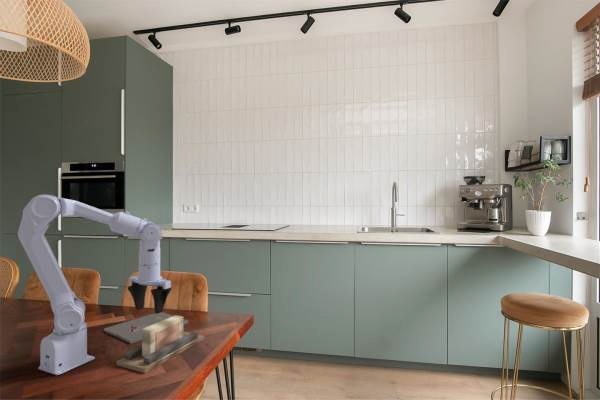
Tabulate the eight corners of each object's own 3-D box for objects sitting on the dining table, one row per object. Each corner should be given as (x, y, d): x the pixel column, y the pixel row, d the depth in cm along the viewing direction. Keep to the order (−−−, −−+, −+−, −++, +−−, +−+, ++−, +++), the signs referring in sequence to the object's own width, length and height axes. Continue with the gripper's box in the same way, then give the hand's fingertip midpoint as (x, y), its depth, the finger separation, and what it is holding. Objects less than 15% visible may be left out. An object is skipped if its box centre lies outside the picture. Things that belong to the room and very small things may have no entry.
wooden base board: (144, 373, 82) (144, 362, 82) (116, 365, 86) (116, 355, 86) (204, 339, 102) (204, 330, 102) (179, 333, 106) (179, 326, 106)
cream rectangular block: (150, 357, 88) (150, 331, 88) (142, 355, 89) (142, 329, 89) (183, 340, 99) (183, 316, 99) (175, 338, 100) (175, 315, 100)
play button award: (187, 320, 115) (130, 340, 99) (187, 324, 115) (130, 345, 99) (160, 311, 125) (104, 328, 108) (160, 315, 125) (104, 333, 108)
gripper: (178, 263, 98) (178, 310, 98) (143, 259, 104) (143, 303, 104) (159, 267, 91) (159, 317, 91) (122, 263, 97) (122, 310, 97)
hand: (149, 310), depth 97 cm, fingers open, 7 cm apart
